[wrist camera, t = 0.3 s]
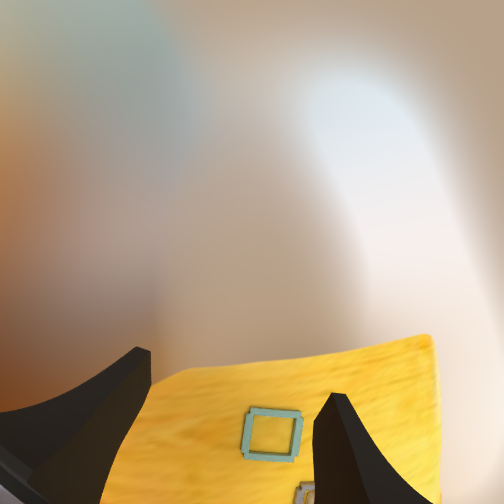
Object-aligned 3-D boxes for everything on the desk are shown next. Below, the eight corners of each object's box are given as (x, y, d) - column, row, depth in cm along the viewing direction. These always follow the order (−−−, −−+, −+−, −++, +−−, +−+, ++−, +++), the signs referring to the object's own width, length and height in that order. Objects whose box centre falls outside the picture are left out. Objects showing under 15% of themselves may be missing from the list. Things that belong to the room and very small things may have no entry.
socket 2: (337, 518, 28) (340, 521, 26) (289, 521, 28) (290, 525, 26) (347, 479, 31) (350, 482, 30) (297, 482, 31) (299, 485, 30)
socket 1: (294, 459, 33) (296, 462, 31) (240, 455, 33) (240, 458, 31) (302, 410, 36) (304, 411, 35) (247, 406, 36) (247, 407, 35)
